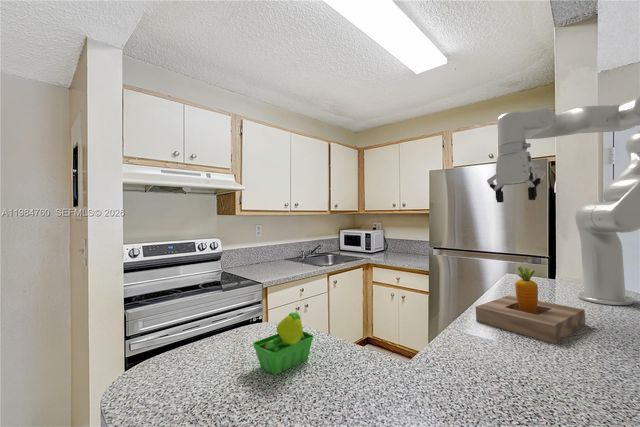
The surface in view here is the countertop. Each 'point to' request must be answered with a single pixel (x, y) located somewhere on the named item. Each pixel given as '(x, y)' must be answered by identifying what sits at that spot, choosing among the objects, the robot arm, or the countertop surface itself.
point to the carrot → (526, 292)
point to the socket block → (532, 318)
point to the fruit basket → (284, 346)
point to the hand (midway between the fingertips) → (515, 201)
